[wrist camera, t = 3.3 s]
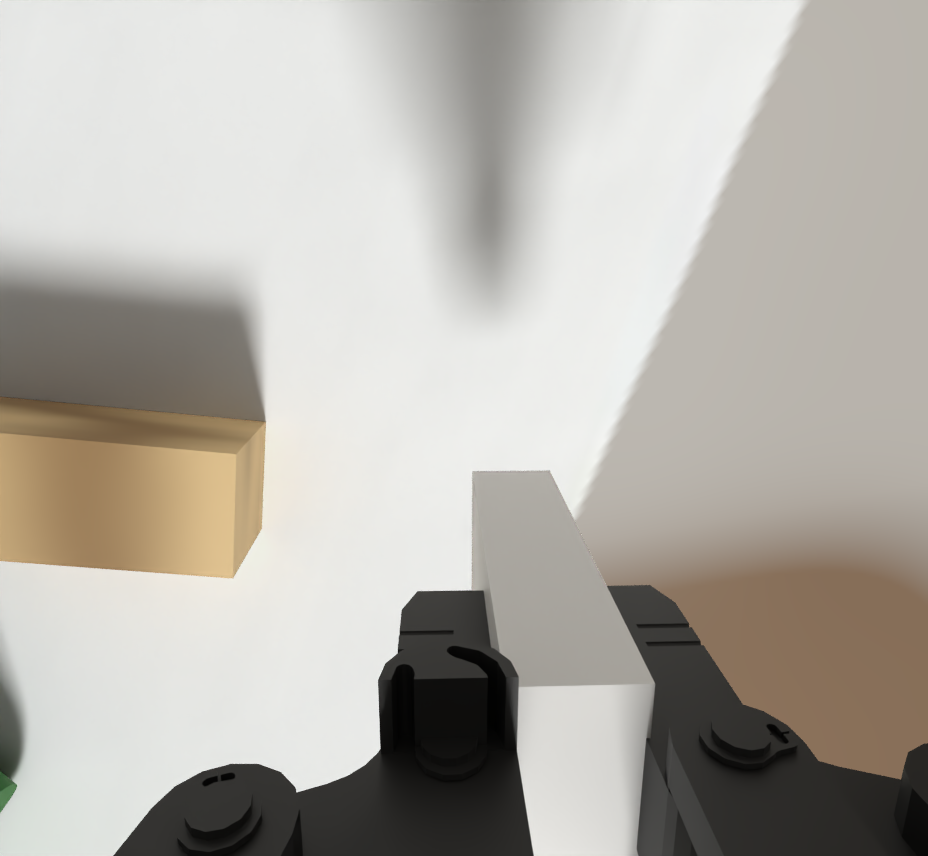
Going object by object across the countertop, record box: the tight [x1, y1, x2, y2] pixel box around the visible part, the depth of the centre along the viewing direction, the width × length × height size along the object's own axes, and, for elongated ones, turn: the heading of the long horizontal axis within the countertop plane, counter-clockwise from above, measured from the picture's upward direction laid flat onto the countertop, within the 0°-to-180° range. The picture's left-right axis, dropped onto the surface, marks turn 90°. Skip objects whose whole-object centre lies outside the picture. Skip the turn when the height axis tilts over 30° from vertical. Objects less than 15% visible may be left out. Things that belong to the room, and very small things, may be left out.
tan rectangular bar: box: [0, 397, 266, 578], centre depth 16 cm, size 7×3×3 cm, turn 83°
